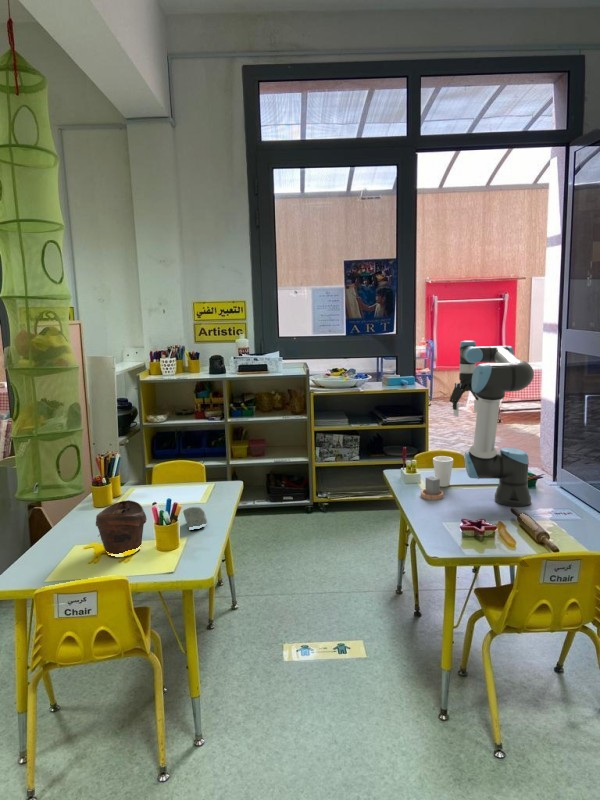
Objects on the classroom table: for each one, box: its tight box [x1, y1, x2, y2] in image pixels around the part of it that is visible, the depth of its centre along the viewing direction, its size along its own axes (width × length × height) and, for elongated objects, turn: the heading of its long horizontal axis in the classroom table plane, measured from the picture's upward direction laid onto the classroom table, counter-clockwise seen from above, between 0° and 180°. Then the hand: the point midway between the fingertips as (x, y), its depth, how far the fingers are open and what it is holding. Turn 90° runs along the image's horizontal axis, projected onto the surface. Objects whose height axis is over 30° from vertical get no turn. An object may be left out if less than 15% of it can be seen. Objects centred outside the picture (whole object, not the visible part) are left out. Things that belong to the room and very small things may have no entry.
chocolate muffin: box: [95, 499, 148, 559], centre depth 207 cm, size 18×20×18 cm
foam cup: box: [432, 455, 454, 488], centre depth 270 cm, size 10×9×13 cm
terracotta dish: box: [420, 488, 445, 501], centre depth 255 cm, size 10×10×2 cm
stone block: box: [424, 475, 441, 495], centre depth 255 cm, size 5×4×8 cm
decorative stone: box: [182, 506, 208, 528], centre depth 229 cm, size 13×11×10 cm
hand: (466, 414), depth 278 cm, fingers open, 13 cm apart
